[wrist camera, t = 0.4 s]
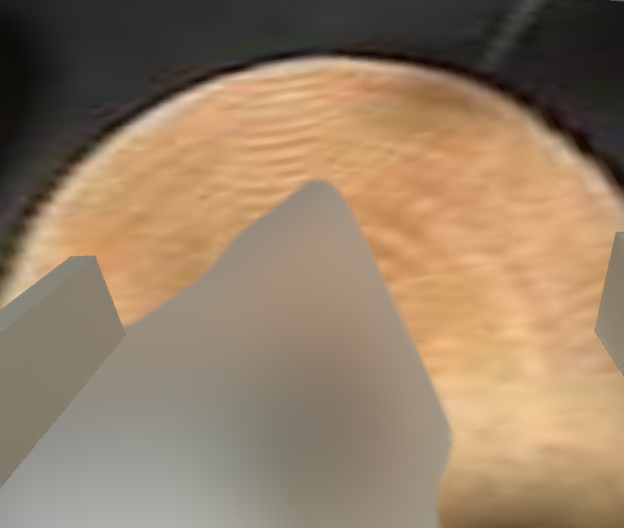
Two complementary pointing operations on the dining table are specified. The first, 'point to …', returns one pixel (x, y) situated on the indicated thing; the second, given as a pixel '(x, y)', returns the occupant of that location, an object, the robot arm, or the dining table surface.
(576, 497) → the dining table surface
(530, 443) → the dining table surface
